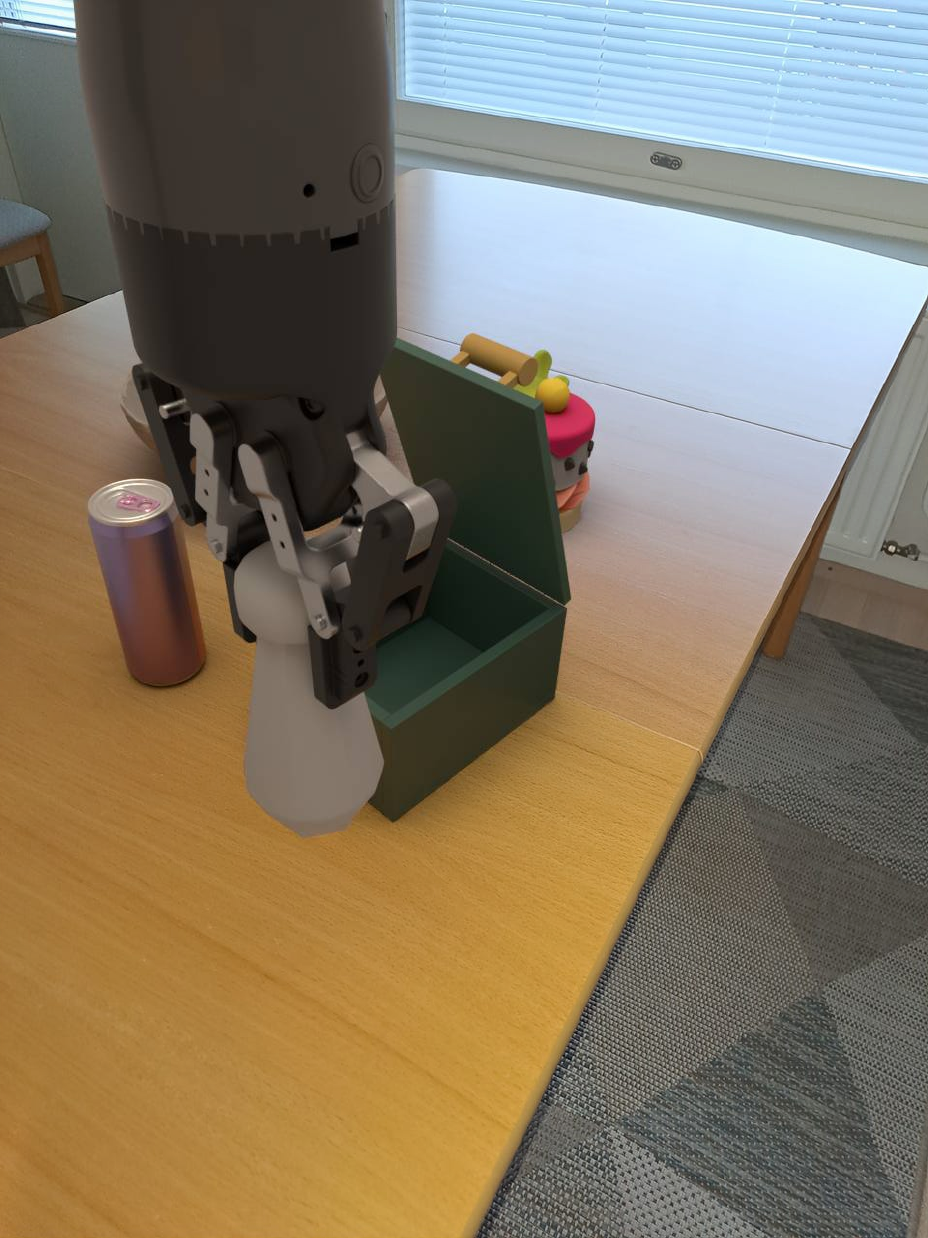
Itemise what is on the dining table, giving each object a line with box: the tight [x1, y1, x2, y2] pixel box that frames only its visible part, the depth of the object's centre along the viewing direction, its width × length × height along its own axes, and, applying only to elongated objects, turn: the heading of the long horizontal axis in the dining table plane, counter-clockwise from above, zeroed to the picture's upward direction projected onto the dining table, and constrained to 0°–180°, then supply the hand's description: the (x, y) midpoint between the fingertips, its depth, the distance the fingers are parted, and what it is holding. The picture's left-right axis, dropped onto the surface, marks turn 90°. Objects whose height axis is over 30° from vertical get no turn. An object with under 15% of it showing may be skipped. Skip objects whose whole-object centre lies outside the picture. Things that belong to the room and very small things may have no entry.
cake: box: [513, 349, 596, 534], centre depth 85 cm, size 10×10×15 cm
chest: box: [255, 538, 568, 823], centre depth 66 cm, size 17×14×9 cm
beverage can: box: [87, 478, 207, 687], centre depth 66 cm, size 6×6×15 cm
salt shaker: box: [234, 535, 384, 839], centre depth 36 cm, size 6×6×13 cm
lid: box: [380, 332, 572, 607], centre depth 61 cm, size 18×14×5 cm
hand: (302, 660), depth 35 cm, fingers closed on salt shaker, 4 cm apart
